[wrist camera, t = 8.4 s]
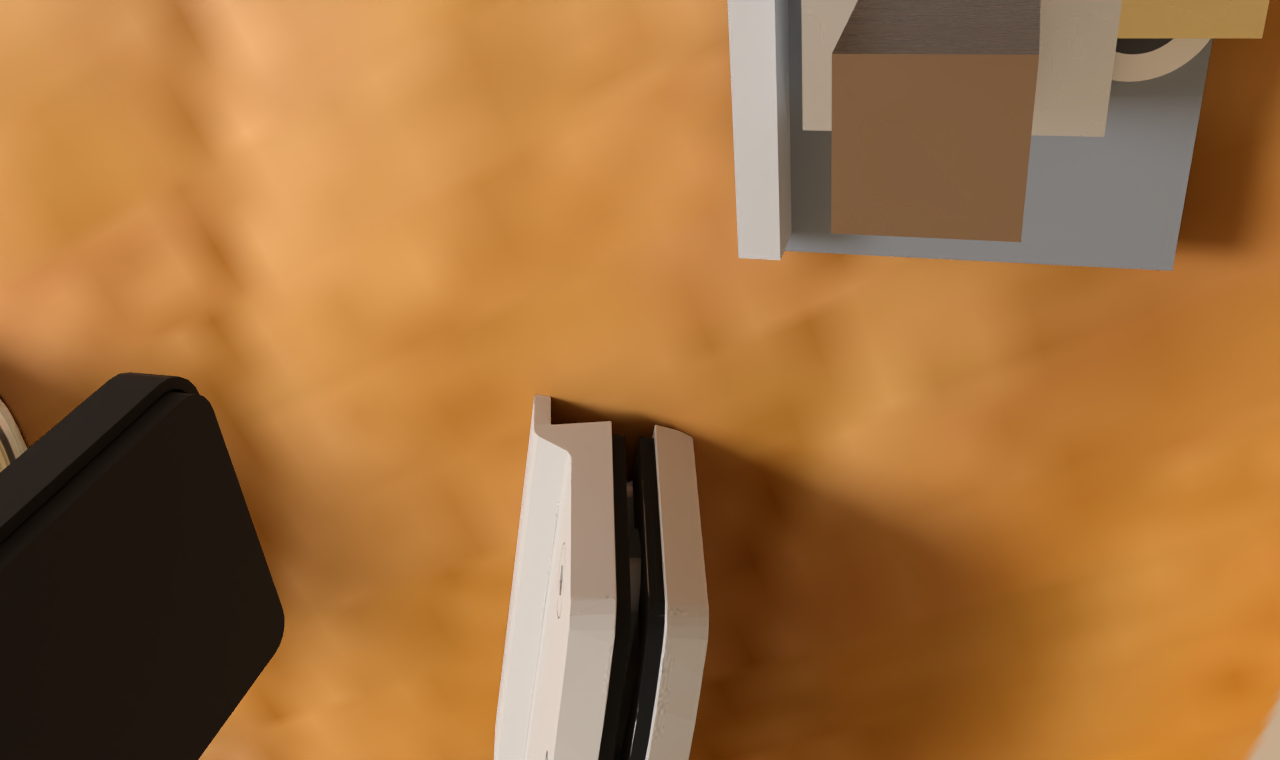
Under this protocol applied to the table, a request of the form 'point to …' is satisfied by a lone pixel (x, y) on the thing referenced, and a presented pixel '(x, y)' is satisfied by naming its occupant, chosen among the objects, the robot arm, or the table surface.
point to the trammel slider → (969, 98)
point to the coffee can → (9, 438)
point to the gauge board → (1057, 171)
